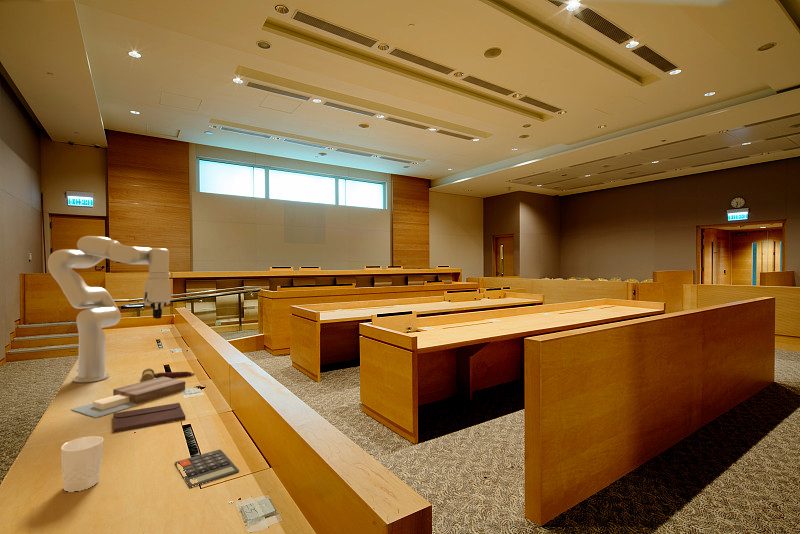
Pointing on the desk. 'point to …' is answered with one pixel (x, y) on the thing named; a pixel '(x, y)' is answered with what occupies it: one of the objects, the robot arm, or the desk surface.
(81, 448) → the white cup
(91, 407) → the mat
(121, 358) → the desk surface
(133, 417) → the notebook
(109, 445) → the desk surface
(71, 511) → the desk surface
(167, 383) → the brown wooden board
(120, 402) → the cream flat block
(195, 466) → the calculator
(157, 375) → the gavel
